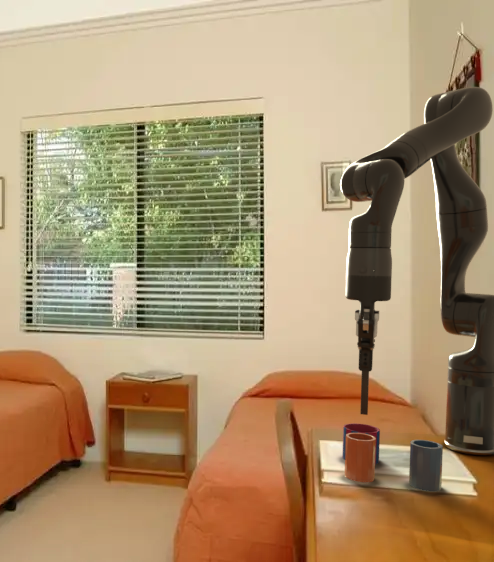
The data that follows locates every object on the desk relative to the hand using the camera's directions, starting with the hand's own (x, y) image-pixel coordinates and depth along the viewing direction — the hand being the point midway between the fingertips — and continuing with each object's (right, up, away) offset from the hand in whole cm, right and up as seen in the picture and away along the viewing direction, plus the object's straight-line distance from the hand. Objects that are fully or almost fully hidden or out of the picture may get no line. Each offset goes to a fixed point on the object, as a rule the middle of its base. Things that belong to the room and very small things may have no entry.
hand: (365, 369), depth 107 cm
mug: (+3, -20, +9) cm, 22 cm away
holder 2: (+9, -21, -3) cm, 23 cm away
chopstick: (0, -8, 0) cm, 8 cm away
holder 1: (-1, -20, +1) cm, 20 cm away
